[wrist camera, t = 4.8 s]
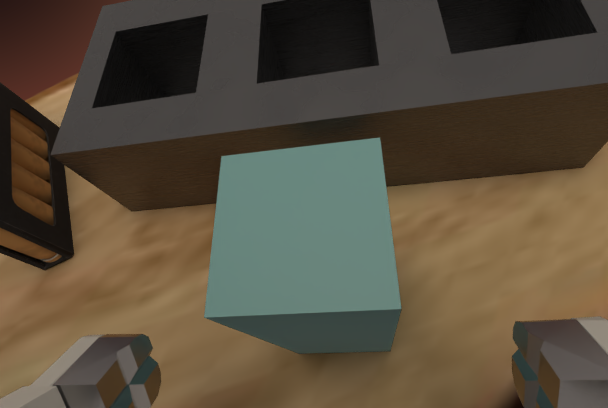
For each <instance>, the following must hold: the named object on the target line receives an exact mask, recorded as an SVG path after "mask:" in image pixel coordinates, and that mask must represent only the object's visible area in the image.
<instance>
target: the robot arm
mask: <svg viewBox="0 0 608 408" xmlns="http://www.w3.org/2000/svg"><path fill="white" fill-rule="evenodd" d="M513 340H514V341H515V343H516V345H517V346H518V348H519V349H518V350H517V351H516V352H515V353H514V355H513V356H512V374H513V379H514V385H515V387H516V390H517V393H518V396H519V398H520V400H521V402H522V404H523V406H524V407H525V408H608V320H607V319H604V318H602V317H583V318H571V319H562V320H537V321H516V322H515V324H514V327H513ZM152 349H153V347H152V345H151V342H150V340H149V337H148V336H146V335H143V334H106V335H87V336H84V337H81V338H80V339H79V340H78V341H76V342H75V343H74V344H73V345H72V346H71V347H70V348H69V349H68V350H67V351H66V352H65V353H64V354H63V355H62V356H61V357H60V358H59V359H58V360H57V361H55V362H54V363H53V364H52V365H51V366H50V367H49V368H48V369H47V370H46V371H45V372H44V373H43V374H42V375H41V376H40V377H39V378H38V379H37V380H35V381H34V382H33V383H32V384H31V385H30V386H23V387H21V388H19V389H18V390H16V391H14V392H12V393H10V394H8V395H6V396H5V397H3V398H1V399H0V408H150V407H151V406H152V404H153V403H154V401H155V399H156V398H157V396H158V392H159V388H160V384H161V372H160V368H159V365H158V363H157V362H156V361H155V360H154V359H152V358H151V357H150V354H151V351H152Z"/></svg>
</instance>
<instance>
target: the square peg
mask: <svg viewBox="0 0 608 408" xmlns="http://www.w3.org/2000/svg"><path fill="white" fill-rule="evenodd" d="M400 313H401V302H400V294H399V285H398V277H397V269H396V261H395V253H394V245H393V237H392V229H391V221H390V213H389V205H388V197H387V189H386V181H385V173H384V165H383V157H382V149H381V141H380V138H371V139H363V140H355V141H346V142H338V143H329V144H321V145H312V146H304V147H295V148H287V149H278V150H270V151H262V152H253V153H245V154H236V155H228V156H221V165H220V174H219V184H218V193H217V202H216V212H215V221H214V231H213V240H212V249H211V259H210V268H209V277H208V287H207V296H206V306H205V315H204V318H207V319H209V320H212V321H214V322H217V323H220V324H222V325H225V326H228V327H230V328H233V329H236V330H238V331H241V332H243V333H246V334H249V335H251V336H254V337H257V338H259V339H262V340H265V341H267V342H270V343H272V344H275V345H278V346H280V347H283V348H286V349H288V350H291V351H293V352H296V353H299V354H304V353H343V352H382V351H390V350H391V347H392V343H393V339H394V335H395V331H396V328H397V324H398V320H399V316H400Z"/></svg>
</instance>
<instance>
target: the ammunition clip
mask: <svg viewBox="0 0 608 408" xmlns="http://www.w3.org/2000/svg"><path fill="white" fill-rule="evenodd" d="M59 129H60V128H59V127H58V126H57V125H55V124H54V123H53V122H51V121H50V120H49V119H47V118H46V117H45V116H43V115H42V114H41V113H40V112H38V111H37V110H36V109H34V108H33V107H32V106H30V105H29V104H28V103H26V102H25V101H24V100H22V99H21V98H20V97H19V96H17V95H16V94H15V93H13V92H12V91H11V90H9V89H8V88H7V87H6V86H4V85H3V84H1V83H0V253H2V254H4V255H7V256H10V257H12V258H15V259H17V260H20V261H23V262H25V263H28V264H30V265H33V266H36V267H38V268H41V269H43V270H45V269H47V268H49V267H51V266H53V265H56V264H58V263H60V262H62V261H64V260H66V259H68V258H70V257H72V255H73V254H74V249H73V240H72V231H71V222H70V213H69V204H68V195H67V186H66V177H65V168H64V164H63V163H61V162H60V161H58V160H57V159H55V158H54V157H52V156H51V152H52V149H53V146H54V143H55V140H56V137H57V135H58V132H59Z"/></svg>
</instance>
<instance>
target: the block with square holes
mask: <svg viewBox="0 0 608 408" xmlns="http://www.w3.org/2000/svg"><path fill="white" fill-rule="evenodd" d="M371 138H380V141H381V149H382V157H383V165H384V173H385V181H386V186H396V185H406V184H416V183H427V182H437V181H447V180H458V179H468V178H478V177H489V176H499V175H509V174H519V173H530V172H540V171H550V170H561V169H571V168H581V167H584V166H585V165H586V164H587V163H588V162H589V161H590V160H591V159H592V158H593V156H594V155H595V154H596V153H597V152H598V151H599V150H600V149H601V148H602V147H603V146H604V145H605V144H606V142H607V141H608V0H132V1H127V2H122V3H117V4H112V5H107V6H103V7H102V9H101V12H100V15H99V18H98V21H97V24H96V27H95V30H94V32H93V35H92V38H91V41H90V44H89V46H88V49H87V52H86V55H85V58H84V61H83V64H82V66H81V69H80V72H79V75H78V78H77V81H76V83H75V86H74V89H73V92H72V95H71V98H70V100H69V103H68V106H67V109H66V112H65V115H64V118H63V120H62V123H61V126H60V129H59V132H58V135H57V137H56V140H55V143H54V146H53V149H52V152H51V156H52V157H54V158H55V159H57V160H58V161H60V162H61V163H63V164H64V165H65V166H67V167H68V168H70V169H71V170H73V171H74V172H76V173H77V174H78V175H80V176H81V177H83V178H84V179H86V180H87V181H89V182H90V183H91V184H93V185H94V186H96V187H97V188H99V189H100V190H102V191H103V192H104V193H106V194H107V195H109V196H110V197H112V198H113V199H115V200H116V201H118V202H119V203H120V204H122V205H123V206H125V207H126V208H128V209H129V210H131V211H139V210H149V209H159V208H169V207H180V206H190V205H200V204H211V203H216V202H217V193H218V184H219V174H220V165H221V156H228V155H236V154H245V153H253V152H262V151H270V150H278V149H287V148H295V147H304V146H312V145H321V144H329V143H338V142H346V141H355V140H363V139H371Z"/></svg>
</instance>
